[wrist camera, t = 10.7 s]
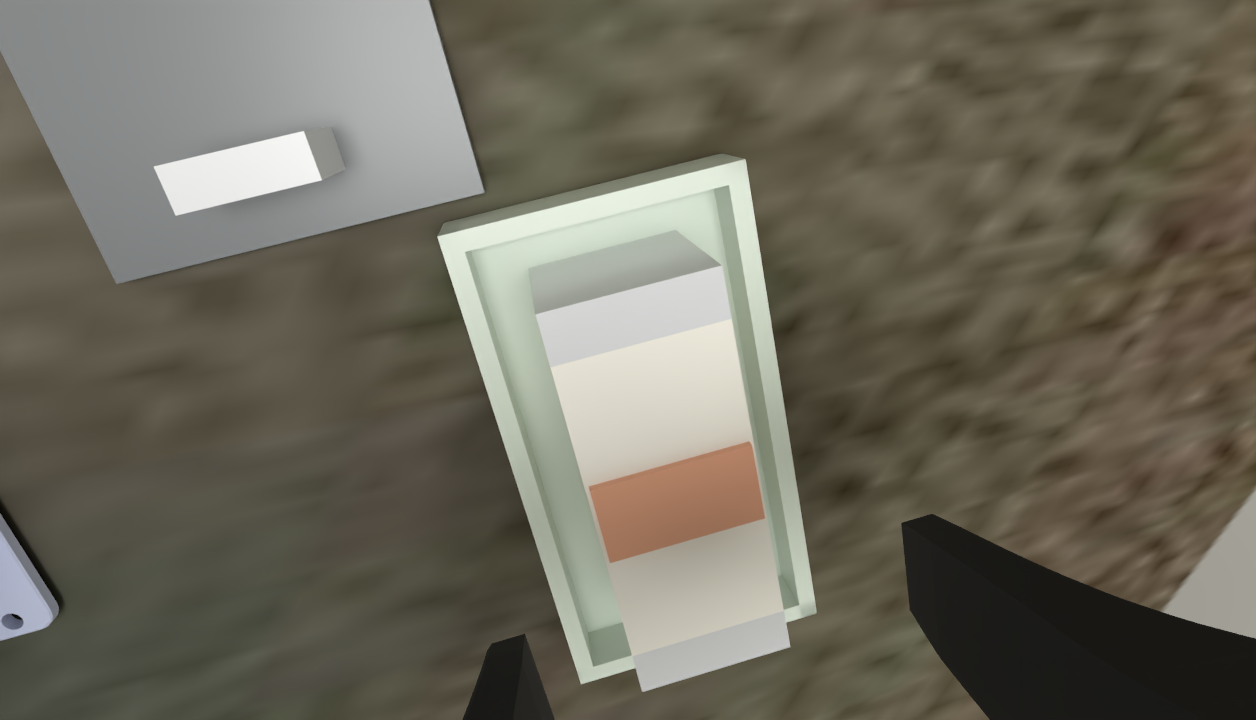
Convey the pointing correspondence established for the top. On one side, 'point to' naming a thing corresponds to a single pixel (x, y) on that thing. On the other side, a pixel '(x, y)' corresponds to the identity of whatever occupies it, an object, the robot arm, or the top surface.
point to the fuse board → (238, 119)
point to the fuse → (664, 451)
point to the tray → (526, 392)
